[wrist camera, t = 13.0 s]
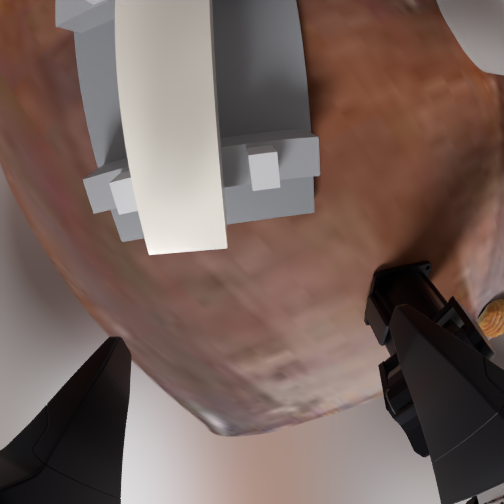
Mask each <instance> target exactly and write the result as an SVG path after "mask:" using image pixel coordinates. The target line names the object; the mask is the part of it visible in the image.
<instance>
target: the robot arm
mask: <svg viewBox="0 0 504 504" xmlns="http://www.w3.org/2000/svg"><path fill="white" fill-rule="evenodd" d="M431 268H432V264H431V263H430V262H429V261H425V262H421V263H416V264H412V265H407V266H402V267H397V268H392V269H387V270H382V271H378V272H376V273H375V274H374V276H373V280H372V285H371V291H370V294H369V296H368V301H367V305H366V310H365V319H364V322H365V324H366V325H370V326H371V328H372V330H373V332H374V334H375V336H376V338H377V340H378V342H379V344H380V345H381V346H383V345H385V346H386V348H387V350H388V352H389V354H390V356H391V357H389V358H388V359H387V360H386V361H385V362H384V361H383V362H382V363H381V364H379V371H380V377H381V382H382V388H383V393H384V399H385V405H386V409H387V410H388V411H389V413H390V414H391V416H392V417H393V419H395V421H397V422H398V423H399V425H400V426H401V427H402V428H403V430H404V431H405V433H406V435H407V437H408V439H409V441H410V443H411V445H412V447H413V449H414V451H415V452H416V453H418V454H419V455H421V456H422V457H427V456H429V455H430V457H431V461H432V465H433V469H434V473H435V477H436V482H437V486H438V491H439V495H440V500H441V504H454V503H457V502H460V501H463V500H466V499H468V498H471V497H472V499H470V500H469V501H467V503H466V504H504V370H503V369H501V368H500V367H498V366H497V365H496V364H494V363H493V362H491V359H492V358H493V357H494V356H495V355H496V354H495V352H494V350H493V348H492V346H491V344H490V343H489V341H488V339H487V337H486V336H485V334H484V332H483V331H482V329H481V328H480V326H479V325H478V323H477V322H476V321H475V320H474V318H473V317H472V316H471V314H470V313H469V312H468V311H467V310H466V309H465V307H464V306H463V305H462V304H461V303H460V302H459V301H458V300H457V299H456V298H455V297H454V296H452V297H451V298H450V299H449V302H448V303H447V301H446V300H445V299H444V297H443V296H442V295H441V294H440V292H439V291H438V290H437V288H436V287H435V286H434V285H433V283H432V282H431V281H430V280H429V279H428V278H429V274H430V271H431ZM378 277H379V278H378ZM130 373H131V353H130V351H129V349H128V347H127V346H126V344H125V342H124V341H123V339H122V338H121V337H109V338H108V339H107V340H106V341H105V342H104V343H103V344H102V345H101V346H100V347H99V348H98V349H97V350H96V351H95V352H94V353H93V355H91V357H90V358H89V359H88V360H87V361H86V362H85V363H84V364H83V365H82V366H81V367H80V368H79V369H78V370H77V372H76V373H75V374H74V375H73V376H72V377H71V378H70V379H69V380H68V381H67V383H65V385H64V386H63V387H62V388H61V389H60V390H59V391H58V392H57V394H56V395H55V396H54V397H53V398H52V399H51V400H50V401H49V402H48V404H47V405H46V406H45V407H44V408H43V409H42V410H41V412H40V413H39V414H38V415H37V416H36V417H35V418H34V419H33V420H32V421H31V423H30V424H28V426H26V427H25V428H24V429H23V430H22V431H21V432H20V433H19V434H18V435H17V436H16V437H15V438H14V439H13V440H12V441H11V442H10V443H9V444H8V445H7V446H6V447H5V448H3V449H2V450H0V504H121V499H120V497H121V474H122V460H123V459H122V458H123V448H124V437H125V428H126V419H127V412H128V404H129V394H130Z"/></svg>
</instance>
